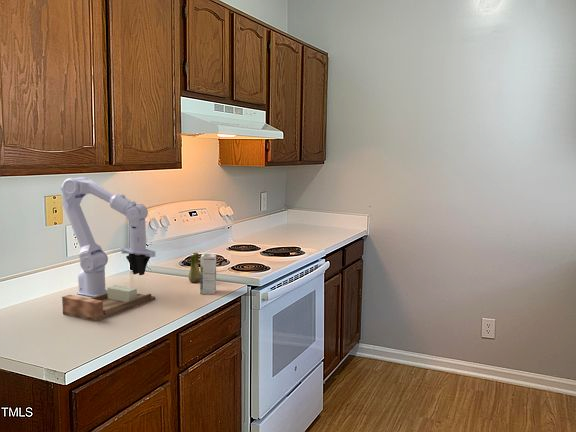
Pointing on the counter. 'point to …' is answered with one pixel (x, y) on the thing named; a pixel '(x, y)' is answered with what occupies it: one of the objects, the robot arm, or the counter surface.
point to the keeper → (121, 293)
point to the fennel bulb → (194, 269)
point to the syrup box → (208, 274)
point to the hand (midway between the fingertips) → (138, 274)
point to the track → (116, 305)
